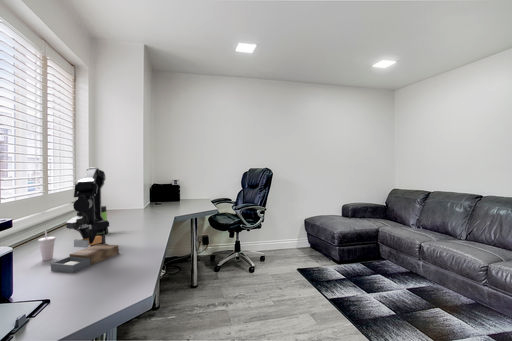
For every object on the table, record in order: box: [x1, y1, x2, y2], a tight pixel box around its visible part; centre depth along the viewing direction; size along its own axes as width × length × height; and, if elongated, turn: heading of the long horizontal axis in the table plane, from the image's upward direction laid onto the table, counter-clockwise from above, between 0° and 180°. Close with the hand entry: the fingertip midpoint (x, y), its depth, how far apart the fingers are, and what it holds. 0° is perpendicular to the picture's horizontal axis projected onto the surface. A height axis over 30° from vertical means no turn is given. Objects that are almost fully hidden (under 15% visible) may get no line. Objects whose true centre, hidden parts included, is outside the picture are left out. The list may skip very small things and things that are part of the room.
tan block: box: [68, 243, 120, 266], centre depth 119 cm, size 15×12×4 cm
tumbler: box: [101, 205, 108, 232], centre depth 164 cm, size 8×8×17 cm
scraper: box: [73, 236, 102, 249], centre depth 117 cm, size 10×7×3 cm
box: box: [50, 256, 92, 274], centre depth 108 cm, size 8×12×3 cm, turn 74°
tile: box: [65, 261, 80, 265], centre depth 108 cm, size 5×5×2 cm
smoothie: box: [37, 229, 56, 261], centre depth 120 cm, size 6×6×14 cm
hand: (88, 243), depth 116 cm, fingers closed on scraper, 2 cm apart
